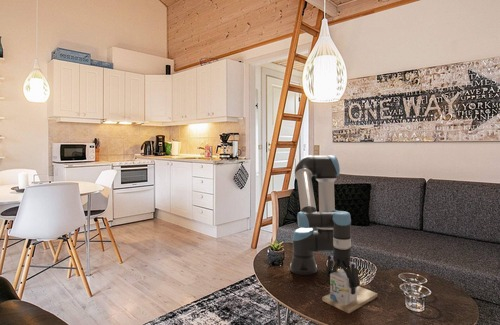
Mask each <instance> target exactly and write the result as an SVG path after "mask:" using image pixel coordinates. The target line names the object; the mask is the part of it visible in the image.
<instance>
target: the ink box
mask: <svg viewBox="0 0 500 325" xmlns="http://www.w3.org/2000/svg"><path fill="white" fill-rule="evenodd" d="M349 286H350V283H349V278H347V275H346V273H345V271H344V270H343V269H342V268H339V269H338V270H337V271H336V272H334V273H331V274H330V278H329V287H330V289H329V290H330V291H329V294H330V298H331V299H333V300H335V301H337V302H339V303H341V304H343V305H345V306H346V305H348V304H350V303H352V302H354V301H355V300H357V287H356V290H355V292H356V293H355V294H354V300H353V301H351V302H349Z"/></svg>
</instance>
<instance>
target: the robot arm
mask: <svg viewBox="0 0 500 325" xmlns="http://www.w3.org/2000/svg"><path fill="white" fill-rule="evenodd" d="M340 169H341V168H340V164H339V159H338V158H337V156H335V155H330V154H327V155H325V154H324V155H306V156H304V157H302V158H301V159H300V160H299V161H298V162H297V164H296V166H295V168H294V177H295V178H294V179H295V180H297V189H298V190H297V191H298V198H299V207H300V211H299V212H297V216H296V218H297V226H298V228H296V229H295V230H294V231H292V258H291V261H290V265H289V271H290V272H292V273H294V274H295V275H299V276H311V275H314V274H316V273H317V271H318V266H317V264H316V259H315V256H314V255H315V254H314V253H332V254H330V255H328V256H327V266H326V269H325V270H326V272H325V276H326V277H328V278H329V279H330V274H331V273H334V272H336V271H338V270H339V269H343V270H344V271H345V273H346V275H347V278H349V283H350V286H349V302H351V301H353V300H354V294H355V293H356V292H355V290H356V287H358V286H360V285H361V284H360V279H359V273H358V263H357V262H352V261H351V256H352V248H351V247H352V241H351V240H352V237H351V236H352V233H351V232H352V229H351V228H352V219H351V214H350V212H348V211H344V210H337V209H336V208H335V207H336V205H335V199H336V198H335V181H336V180H337V179H338V178H337V177H338V176H340V173H341V172H340V171H341V170H340ZM313 177H315V180H316V181H317V182H318V210H319V211H317V206H316V200H315V194H314V188H313V186H314V185H313V181H312V178H313ZM314 229H316V230H314ZM360 287H361V286H360Z"/></svg>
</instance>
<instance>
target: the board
mask: <svg viewBox="0 0 500 325" xmlns="http://www.w3.org/2000/svg"><path fill="white" fill-rule="evenodd" d="M376 298H378V293H377V292H375V291H372V290H370V289H367V288H365V287H362V286H358V287H357V300H355V301H354V302H352V303H350V304H348V305H346V306H345V305H343V304H341V303H339V302H337V301H335V300H333V299H331V298H330V293H328V294H326V295H324V296H322V298H321V300H322V302H325V304H326V303H327V304H328V305H330V306H333V307H334V308H337V309H338V310H341V311H343V312H344V313H347V314H351V313H352V312H354V311H356V310H357V309H359V308H361V307H362V306H364V305H366V304H368V303H369V302H371V301H373V300H375V299H376Z"/></svg>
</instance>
